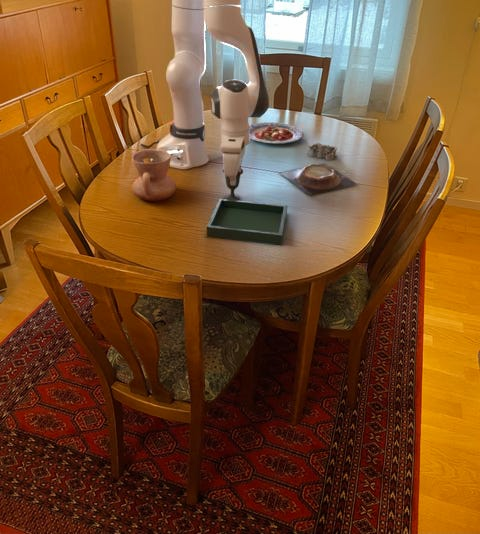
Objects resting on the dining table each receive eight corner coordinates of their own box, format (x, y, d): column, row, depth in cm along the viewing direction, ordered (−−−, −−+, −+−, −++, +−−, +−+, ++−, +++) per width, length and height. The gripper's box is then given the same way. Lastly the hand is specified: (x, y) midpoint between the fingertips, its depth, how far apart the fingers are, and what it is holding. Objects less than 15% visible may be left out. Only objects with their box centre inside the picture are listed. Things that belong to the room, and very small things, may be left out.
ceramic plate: (264, 123, 215) (265, 116, 214) (312, 135, 204) (313, 129, 202) (232, 138, 198) (232, 131, 197) (282, 152, 187) (283, 145, 185)
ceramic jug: (142, 182, 161) (137, 144, 153) (182, 186, 160) (179, 147, 151) (124, 206, 147) (119, 165, 138) (168, 210, 145) (165, 169, 137)
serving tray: (206, 236, 134) (206, 226, 132) (219, 207, 148) (219, 198, 146) (281, 245, 131) (281, 235, 129) (286, 214, 145) (287, 205, 143)
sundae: (227, 204, 150) (228, 162, 141) (219, 196, 154) (219, 154, 146) (245, 200, 152) (247, 158, 143) (236, 192, 157) (237, 151, 148)
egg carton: (306, 155, 185) (307, 146, 183) (313, 149, 190) (314, 140, 188) (330, 161, 181) (332, 151, 178) (337, 155, 186) (339, 145, 184)
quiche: (324, 164, 178) (326, 154, 176) (357, 185, 164) (359, 174, 162) (279, 173, 171) (280, 163, 168) (309, 196, 156) (310, 185, 154)
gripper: (230, 125, 149) (231, 164, 157) (219, 148, 133) (220, 191, 141) (249, 126, 149) (249, 165, 157) (240, 149, 132) (240, 192, 140)
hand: (235, 178), depth 149 cm, fingers open, 8 cm apart
